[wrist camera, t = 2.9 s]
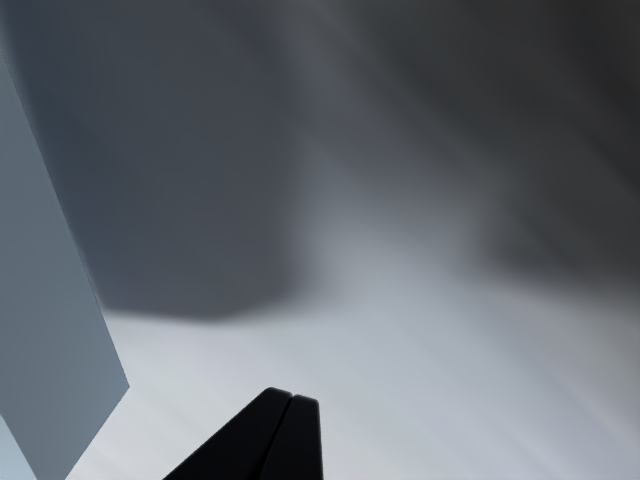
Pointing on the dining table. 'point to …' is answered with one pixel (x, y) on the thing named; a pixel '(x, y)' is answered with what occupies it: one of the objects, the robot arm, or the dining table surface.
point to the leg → (45, 318)
